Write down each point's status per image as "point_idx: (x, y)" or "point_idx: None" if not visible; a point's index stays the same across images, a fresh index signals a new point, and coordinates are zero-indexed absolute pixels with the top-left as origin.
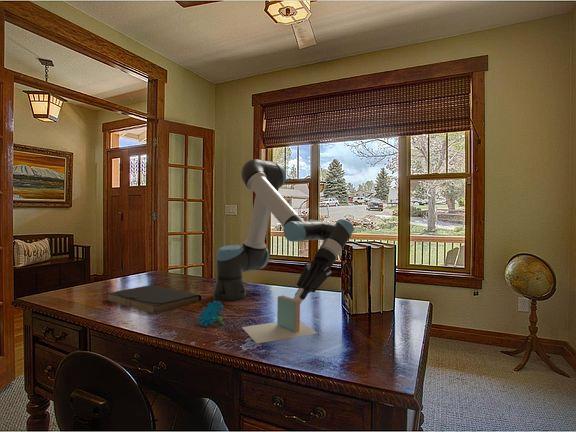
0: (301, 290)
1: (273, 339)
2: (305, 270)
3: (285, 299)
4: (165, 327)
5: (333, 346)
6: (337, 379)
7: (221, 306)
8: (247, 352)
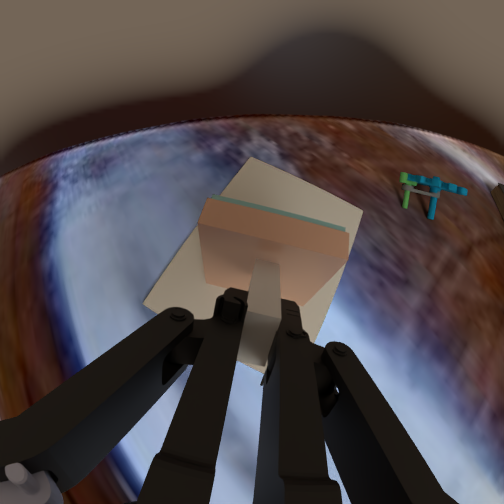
0: (253, 302)
1: (233, 189)
2: (401, 488)
3: (285, 214)
4: (433, 155)
5: (78, 250)
6: (60, 151)
7: (434, 179)
8: (239, 131)
